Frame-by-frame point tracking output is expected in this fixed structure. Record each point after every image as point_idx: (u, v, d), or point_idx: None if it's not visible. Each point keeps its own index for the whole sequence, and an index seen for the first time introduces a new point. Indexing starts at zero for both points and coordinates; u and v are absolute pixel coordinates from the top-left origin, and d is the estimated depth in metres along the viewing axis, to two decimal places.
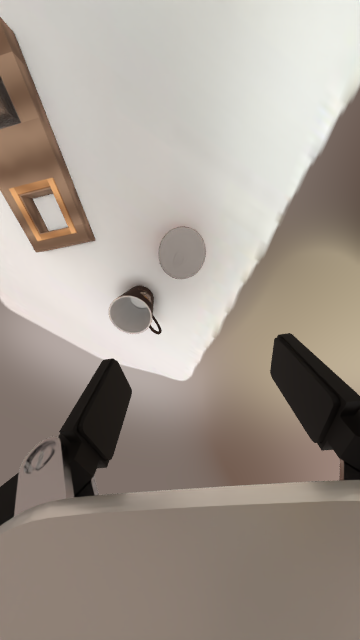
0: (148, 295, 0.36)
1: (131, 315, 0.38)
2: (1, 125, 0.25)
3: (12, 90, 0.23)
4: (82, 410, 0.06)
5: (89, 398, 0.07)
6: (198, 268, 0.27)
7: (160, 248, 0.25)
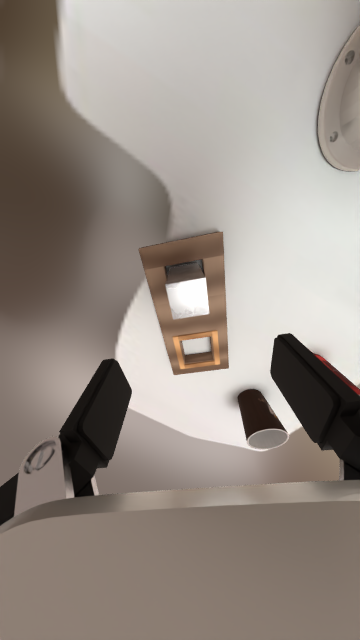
0: (271, 408, 0.38)
1: None
2: None
3: (210, 277, 0.25)
4: (82, 411, 0.06)
5: (89, 398, 0.07)
6: None
7: None
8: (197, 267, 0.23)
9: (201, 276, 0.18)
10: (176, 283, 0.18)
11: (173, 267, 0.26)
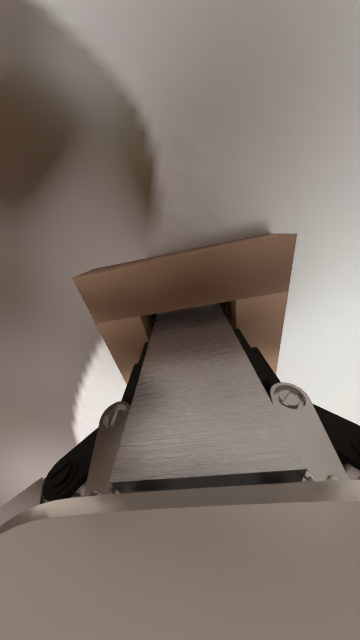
0: None
1: None
2: None
3: (248, 337, 0.11)
4: None
5: None
6: None
7: None
8: (224, 326, 0.09)
9: (271, 430, 0.04)
10: (160, 481, 0.04)
11: None
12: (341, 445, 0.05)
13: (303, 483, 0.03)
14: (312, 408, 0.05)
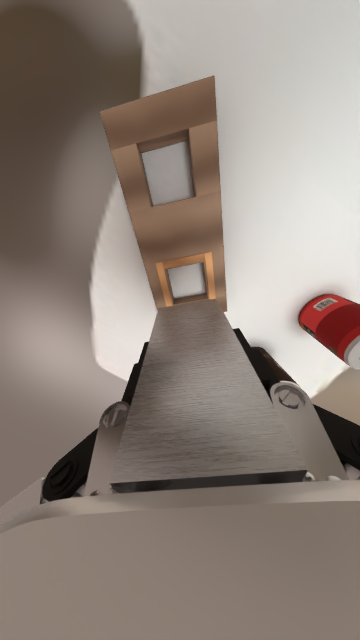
0: (278, 364, 0.31)
1: None
2: None
3: (199, 162, 0.18)
4: None
5: None
6: None
7: (358, 343, 0.21)
8: (224, 326, 0.09)
9: (272, 431, 0.04)
10: (160, 481, 0.04)
11: (164, 310, 0.12)
12: (341, 445, 0.05)
13: (303, 483, 0.03)
14: (312, 408, 0.05)
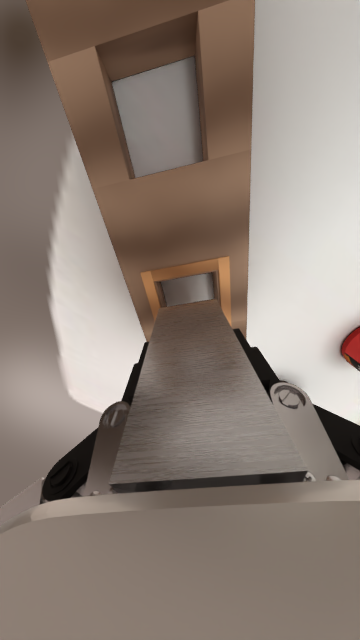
0: None
1: None
2: None
3: (216, 90, 0.10)
4: None
5: None
6: None
7: None
8: (224, 326, 0.09)
9: (272, 432, 0.04)
10: (160, 482, 0.04)
11: (164, 311, 0.12)
12: (341, 445, 0.05)
13: (303, 483, 0.03)
14: (312, 409, 0.05)
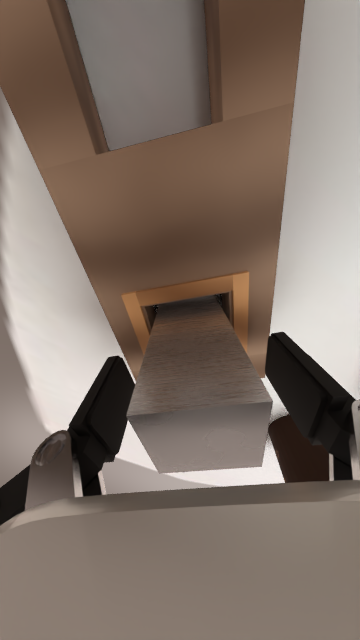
0: None
1: None
2: None
3: None
4: (90, 405, 0.07)
5: (96, 393, 0.07)
6: None
7: None
8: (218, 312, 0.10)
9: (250, 381, 0.05)
10: (165, 414, 0.05)
11: None
12: None
13: (303, 483, 0.03)
14: None
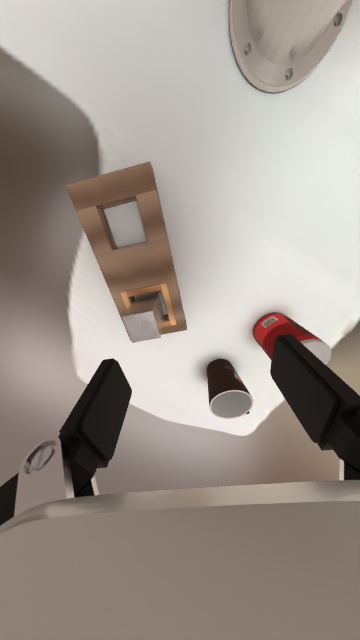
0: (237, 375, 0.35)
1: None
2: None
3: (146, 217, 0.24)
4: (82, 410, 0.06)
5: (89, 398, 0.07)
6: None
7: None
8: (155, 297, 0.28)
9: (150, 309, 0.23)
10: (130, 316, 0.22)
11: (139, 295, 0.31)
12: None
13: (303, 483, 0.03)
14: None
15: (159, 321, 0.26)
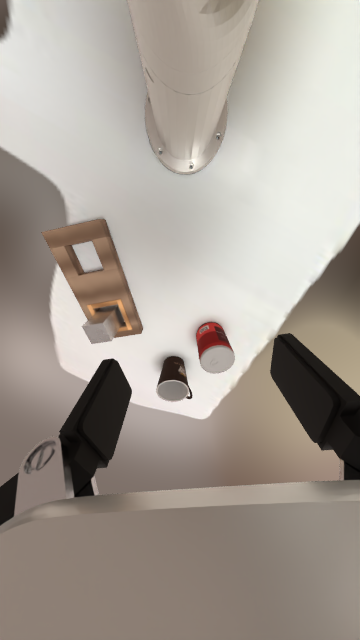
0: (183, 369, 0.45)
1: (167, 380, 0.48)
2: None
3: (101, 254, 0.33)
4: (82, 410, 0.06)
5: (89, 398, 0.07)
6: (228, 367, 0.36)
7: (202, 357, 0.35)
8: (112, 310, 0.37)
9: (102, 321, 0.32)
10: (87, 325, 0.32)
11: None
12: None
13: (303, 483, 0.03)
14: None
15: (112, 328, 0.35)
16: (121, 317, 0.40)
